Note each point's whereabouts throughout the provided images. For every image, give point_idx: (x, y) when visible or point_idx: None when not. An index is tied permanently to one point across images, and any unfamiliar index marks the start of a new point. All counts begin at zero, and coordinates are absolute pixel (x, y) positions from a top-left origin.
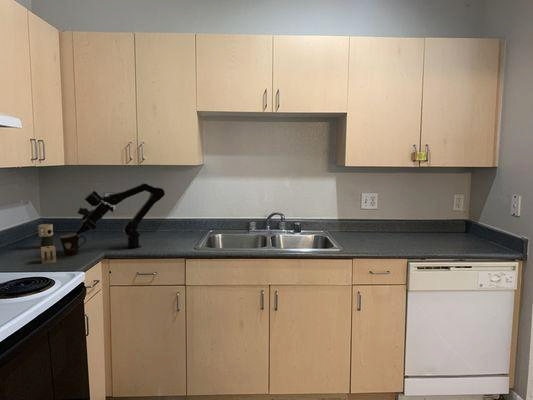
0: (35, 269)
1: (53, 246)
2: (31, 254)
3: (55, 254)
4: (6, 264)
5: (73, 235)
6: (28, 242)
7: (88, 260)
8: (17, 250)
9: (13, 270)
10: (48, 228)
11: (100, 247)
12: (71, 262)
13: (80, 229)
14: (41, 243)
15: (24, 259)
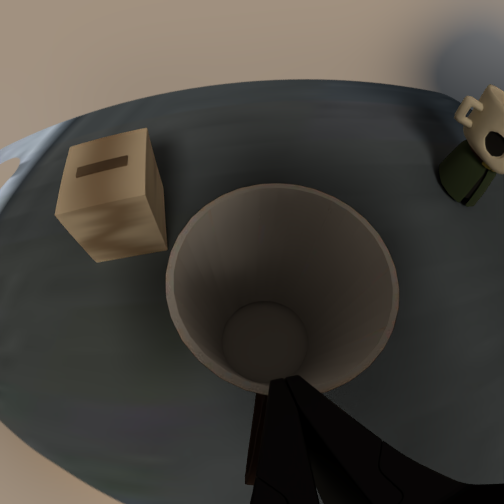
0: (26, 198)
1: (114, 193)
2: (331, 136)
3: (77, 239)
4: (177, 94)
5: (374, 323)
6: None
7: (47, 439)
8: (403, 107)
9: (68, 134)
10: (501, 125)
11: None
12: (41, 346)
13: (260, 473)
14: (450, 153)
15: (235, 123)
